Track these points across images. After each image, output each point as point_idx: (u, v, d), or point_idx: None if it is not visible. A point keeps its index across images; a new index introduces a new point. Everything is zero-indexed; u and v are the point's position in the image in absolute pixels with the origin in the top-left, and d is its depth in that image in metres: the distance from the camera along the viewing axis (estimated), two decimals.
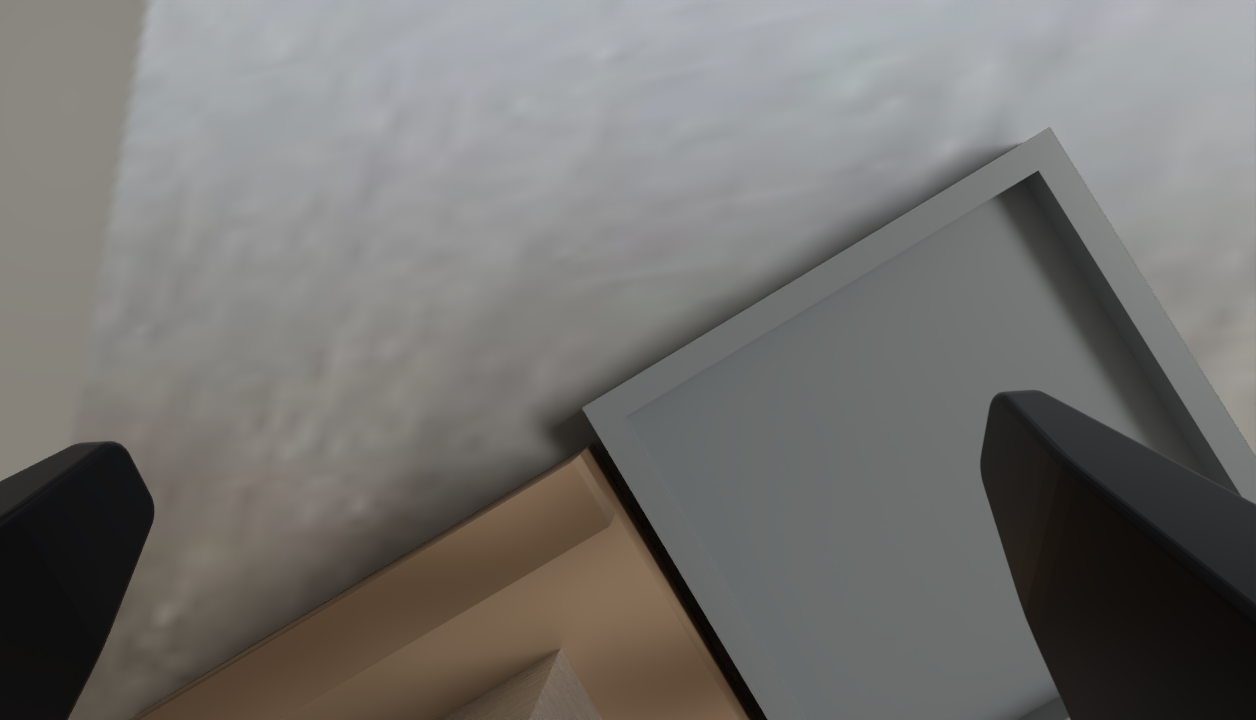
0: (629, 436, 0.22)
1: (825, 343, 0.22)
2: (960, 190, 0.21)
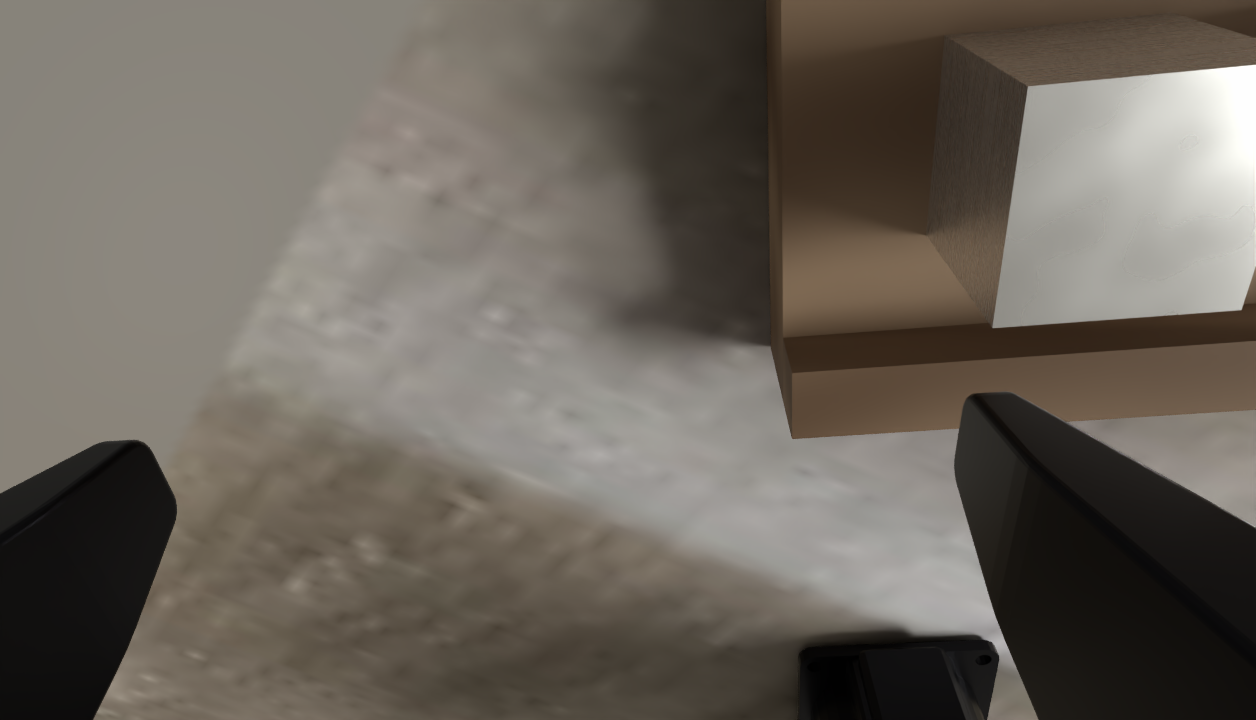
0: None
1: None
2: None
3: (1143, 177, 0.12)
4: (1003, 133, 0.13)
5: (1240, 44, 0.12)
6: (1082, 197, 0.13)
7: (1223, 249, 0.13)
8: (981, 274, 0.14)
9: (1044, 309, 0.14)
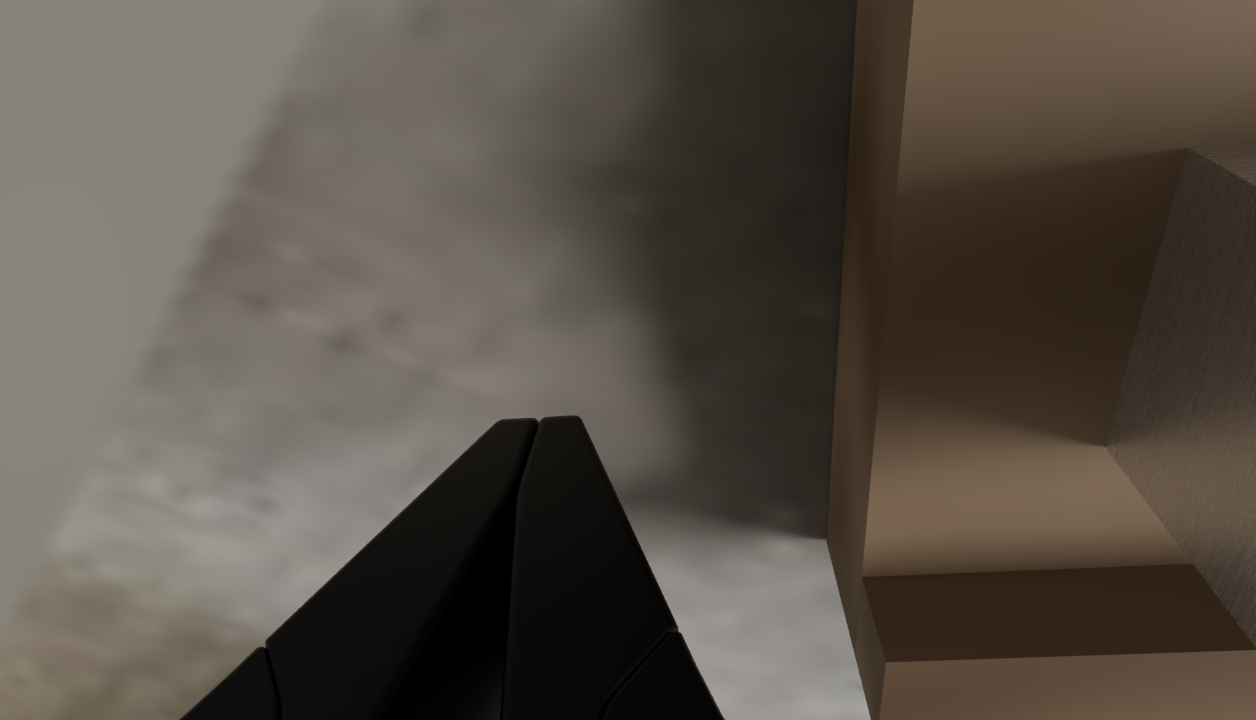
0: None
1: None
2: None
3: None
4: None
5: None
6: None
7: None
8: None
9: None
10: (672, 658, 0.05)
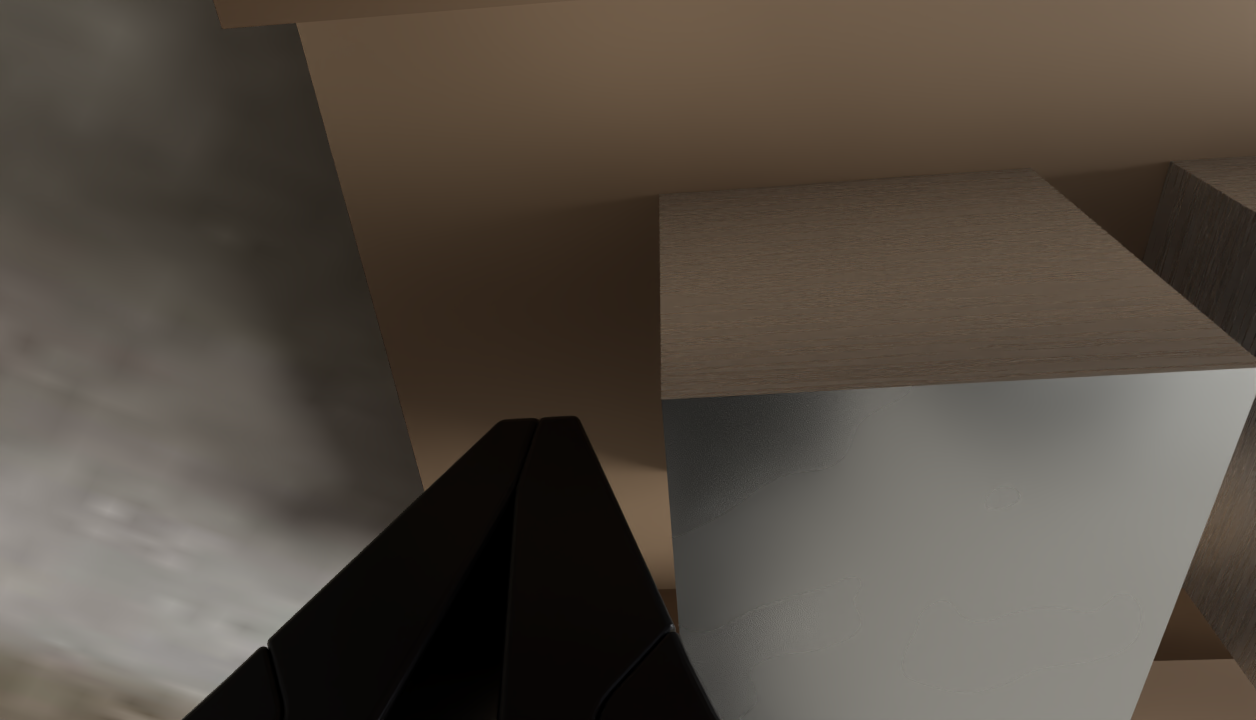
0: None
1: None
2: None
3: (920, 548, 0.06)
4: None
5: (1115, 288, 0.06)
6: (809, 574, 0.07)
7: (1085, 654, 0.07)
8: None
9: None
10: (670, 658, 0.05)
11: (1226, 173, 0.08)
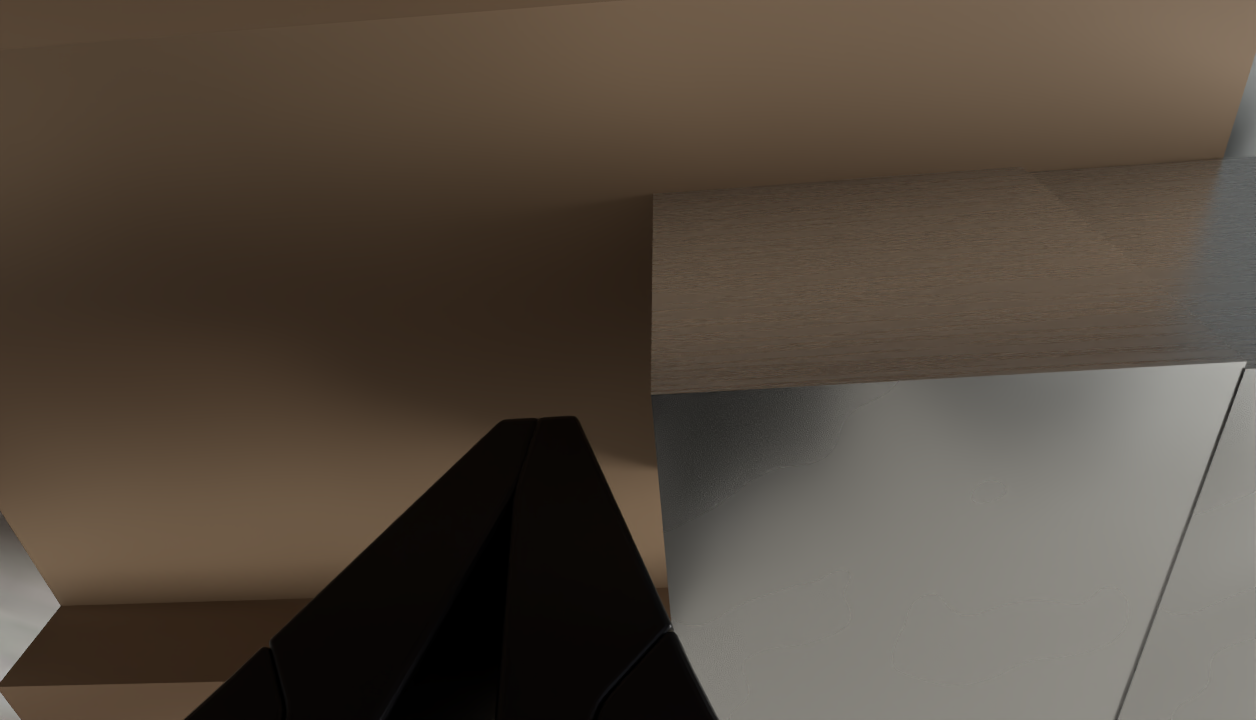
0: None
1: None
2: None
3: (907, 541, 0.06)
4: None
5: (1101, 284, 0.07)
6: (799, 566, 0.07)
7: (1073, 646, 0.07)
8: None
9: (766, 717, 0.08)
10: (668, 658, 0.05)
11: (1070, 183, 0.08)
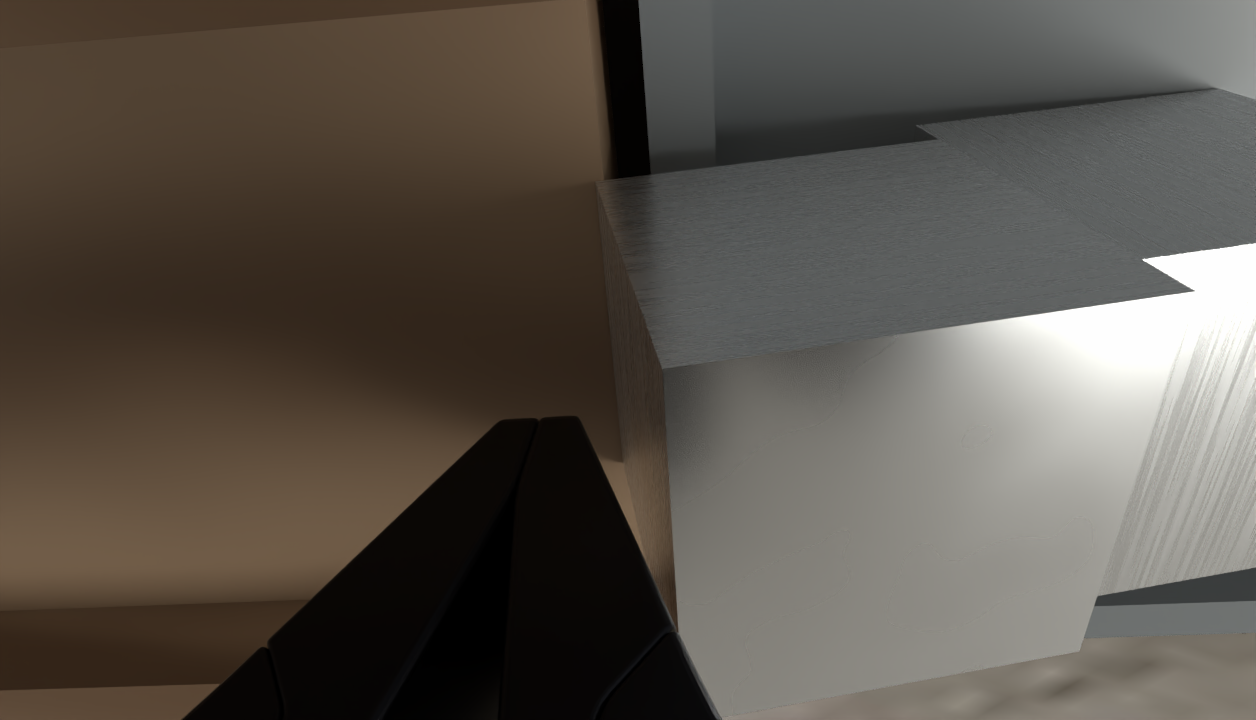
0: None
1: None
2: None
3: (903, 494, 0.07)
4: (652, 417, 0.07)
5: (1048, 236, 0.07)
6: (801, 532, 0.07)
7: (1047, 580, 0.07)
8: None
9: (767, 690, 0.08)
10: (670, 658, 0.05)
11: (1163, 237, 0.07)
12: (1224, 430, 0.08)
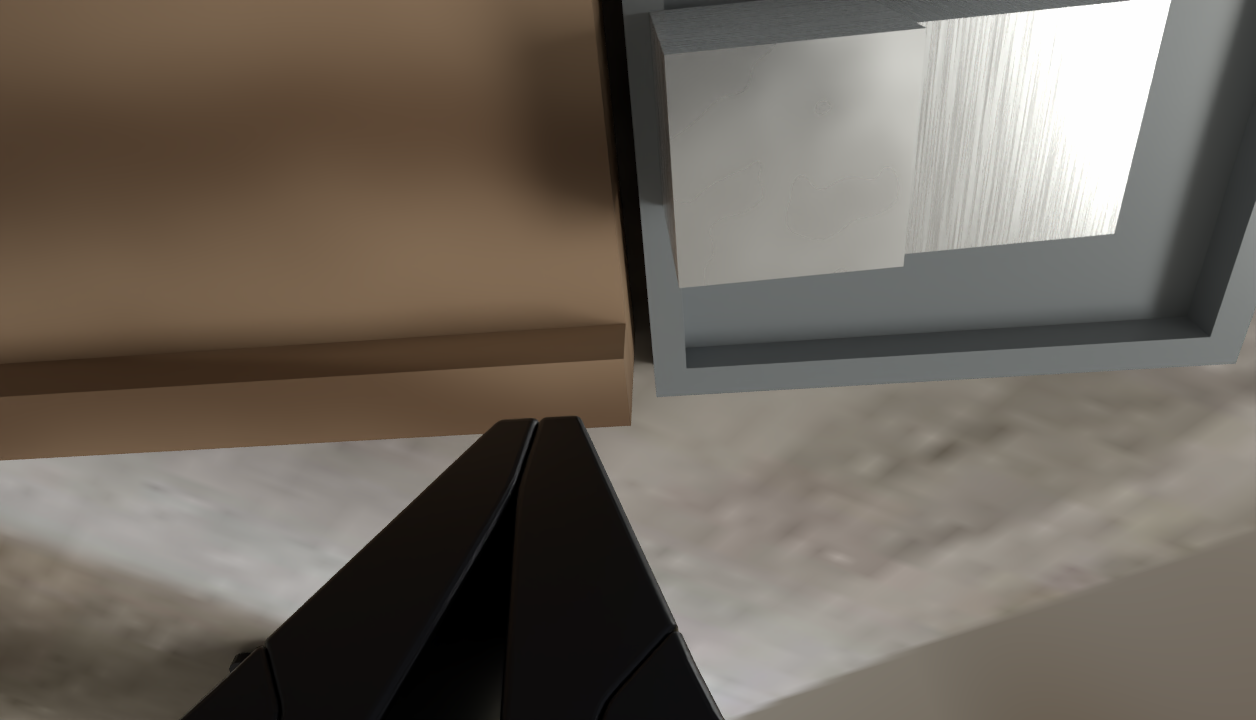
0: None
1: None
2: None
3: (788, 141, 0.13)
4: (664, 101, 0.14)
5: (876, 17, 0.13)
6: (736, 160, 0.13)
7: (874, 209, 0.14)
8: (673, 238, 0.15)
9: (723, 269, 0.14)
10: (673, 658, 0.05)
11: (936, 16, 0.13)
12: (985, 136, 0.14)
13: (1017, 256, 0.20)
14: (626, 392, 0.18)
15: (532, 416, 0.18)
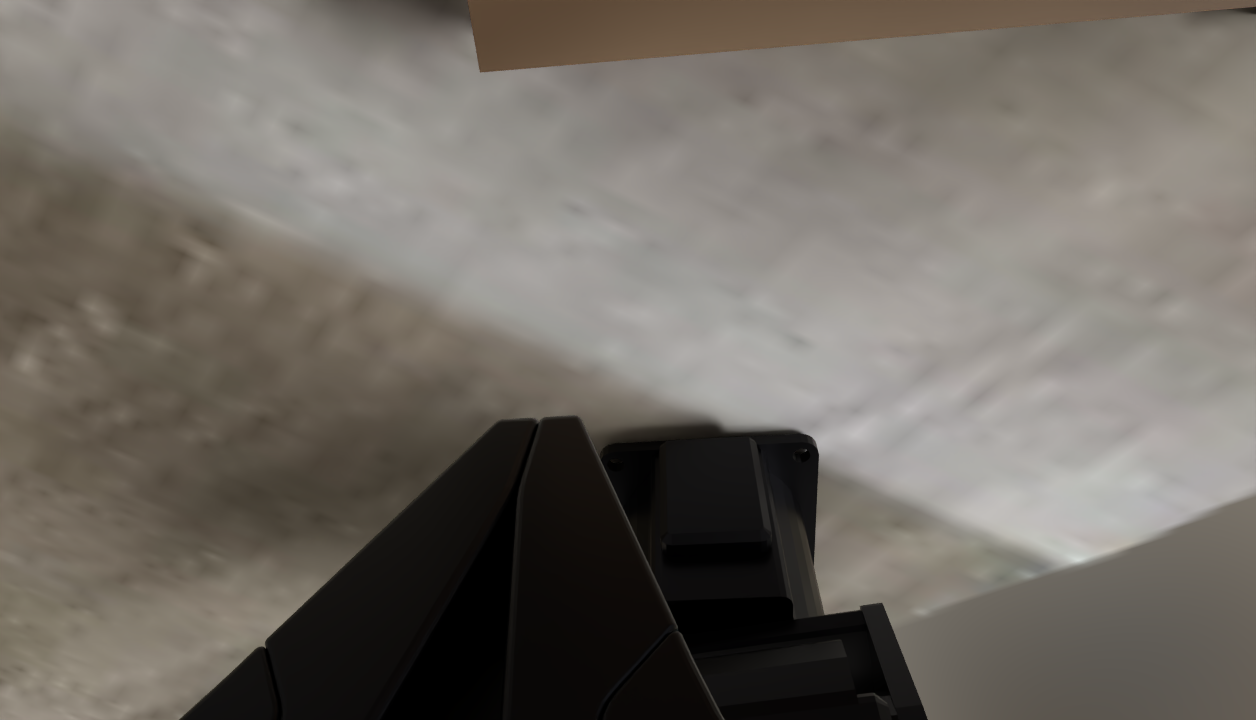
0: None
1: None
2: None
3: None
4: None
5: None
6: None
7: None
8: None
9: None
10: (672, 658, 0.05)
11: None
12: None
13: None
14: None
15: None
